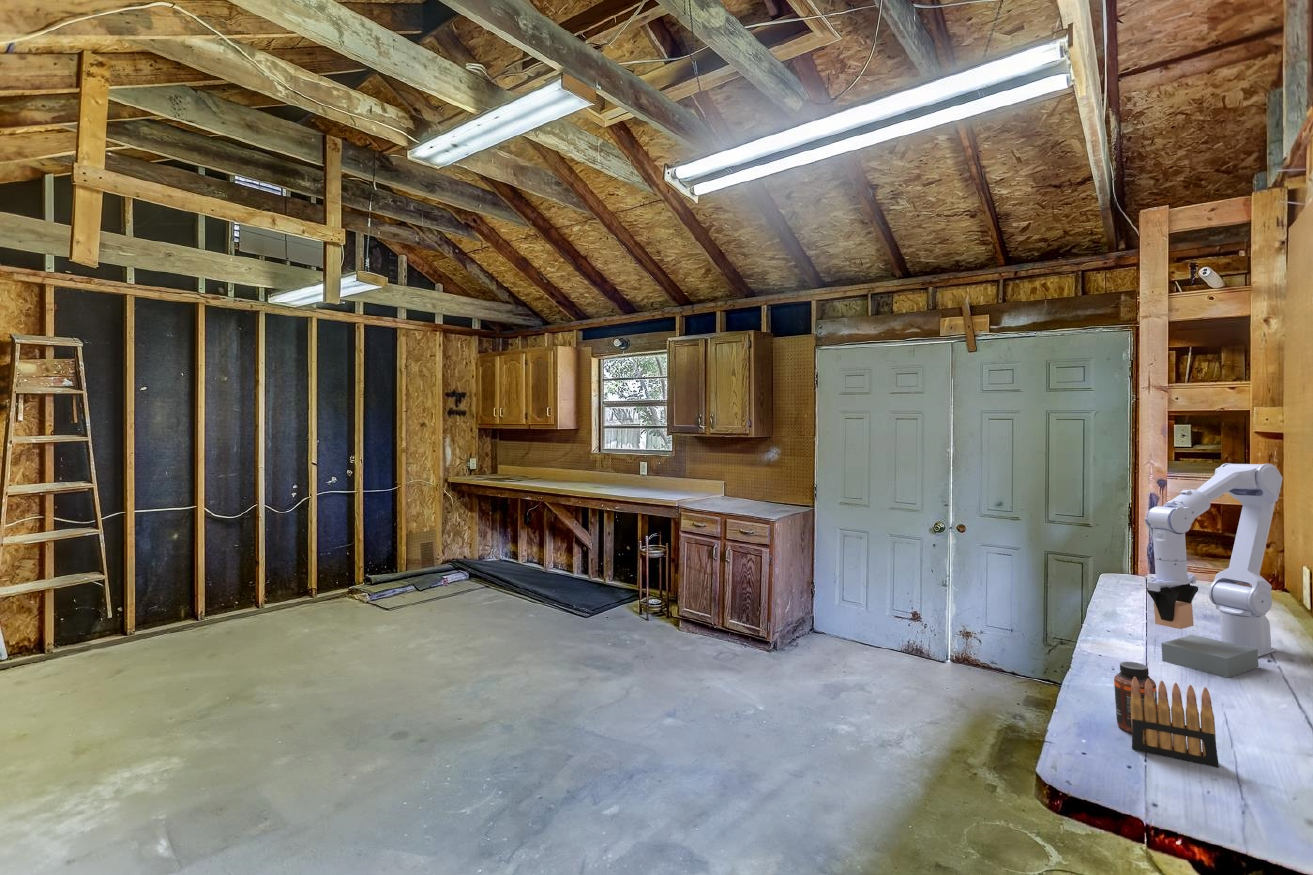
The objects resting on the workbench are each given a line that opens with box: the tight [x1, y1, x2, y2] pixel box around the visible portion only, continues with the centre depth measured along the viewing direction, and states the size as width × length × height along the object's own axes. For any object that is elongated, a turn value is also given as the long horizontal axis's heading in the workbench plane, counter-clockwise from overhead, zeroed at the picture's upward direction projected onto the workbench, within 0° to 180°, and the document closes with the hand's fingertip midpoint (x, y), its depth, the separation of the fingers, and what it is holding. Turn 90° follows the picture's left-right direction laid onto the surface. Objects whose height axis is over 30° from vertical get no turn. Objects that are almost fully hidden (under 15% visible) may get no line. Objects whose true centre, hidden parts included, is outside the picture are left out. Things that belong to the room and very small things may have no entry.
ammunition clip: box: [1130, 676, 1220, 769], centre depth 99 cm, size 11×2×12 cm, turn 52°
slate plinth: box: [1161, 634, 1260, 678], centre depth 136 cm, size 12×12×4 cm
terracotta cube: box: [1153, 601, 1195, 630], centre depth 140 cm, size 5×5×5 cm
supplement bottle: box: [1113, 661, 1159, 734], centre depth 108 cm, size 6×6×11 cm
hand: (1174, 618), depth 140 cm, fingers closed on terracotta cube, 5 cm apart
